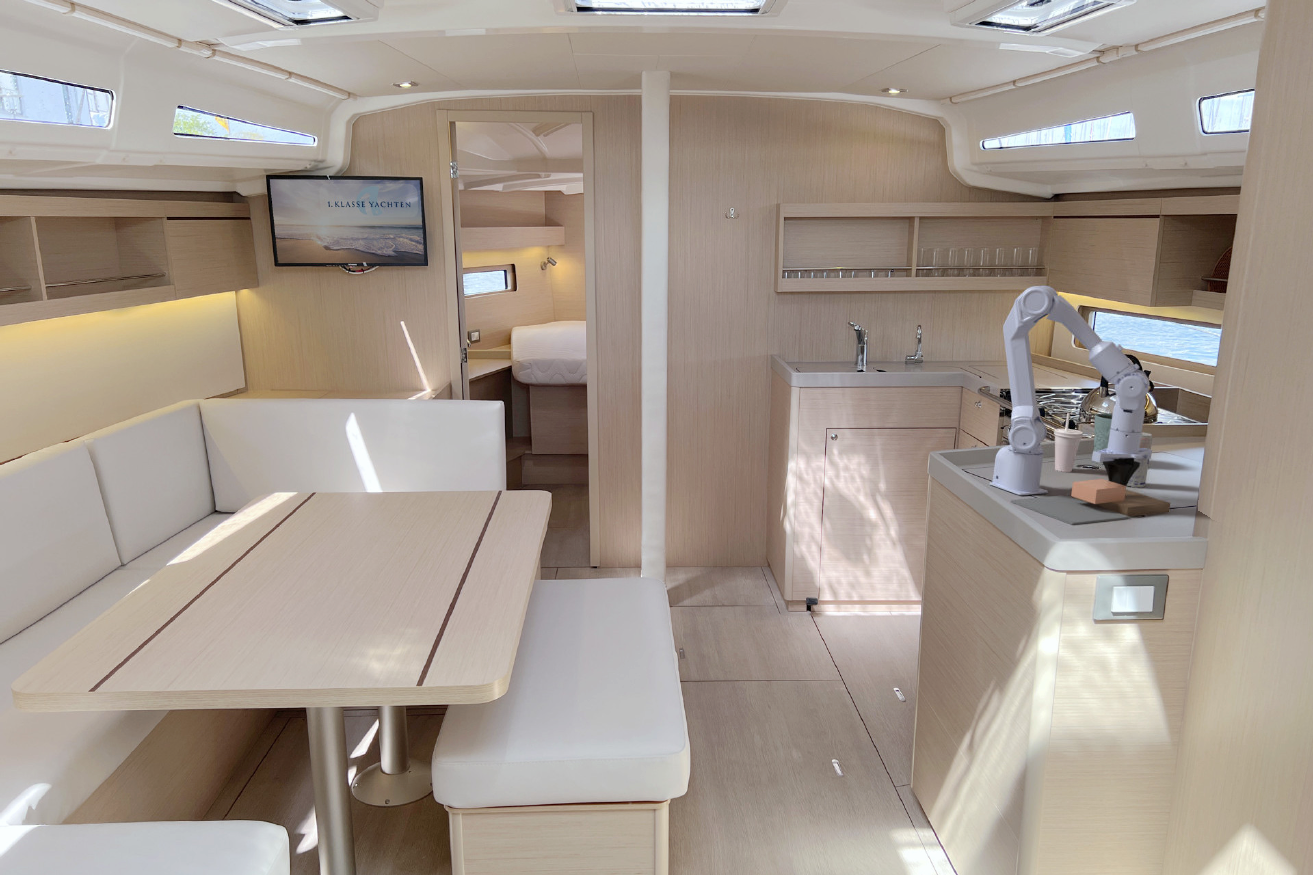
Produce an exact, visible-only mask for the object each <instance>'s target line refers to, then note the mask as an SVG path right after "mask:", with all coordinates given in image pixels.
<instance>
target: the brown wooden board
mask: <svg viewBox="0 0 1313 875" xmlns="http://www.w3.org/2000/svg"><path fill="white" fill-rule="evenodd" d="M1070 490H1071V491H1070V496H1069V497H1072V498H1075V499H1078V500H1081V501H1084V502H1087V503H1090V502H1088V501H1085V500H1082V499H1079V498H1076V497H1073V496H1071V494H1072V488H1071V489H1070ZM1090 504H1093V503H1090ZM1093 505H1096V506H1099V507H1102V508H1105V509H1108V510H1111V511H1114V512H1117V513H1120V514H1123V515H1126V516H1129V518H1130V517H1131V518H1132V517H1138V516H1148V515H1149V516H1151V515H1156V514H1167V513H1170V510H1171V509H1170V508H1171V502H1169V501H1165V500H1162V499H1159V498H1155V497H1153V496H1150V495H1145V494H1142V493H1139V492H1136V491H1134V490H1129V489H1126V492H1125V499H1124V501H1115V502H1107V503H1099V504H1093Z"/></svg>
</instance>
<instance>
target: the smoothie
mask: <svg viewBox="0 0 1313 875" xmlns="http://www.w3.org/2000/svg"><path fill="white" fill-rule="evenodd" d="M1070 415H1071V413H1069V412H1067V414H1066V420H1065V426H1064V427H1065V428H1056V429H1054V432H1053V435H1054V470H1055V471H1057V470H1058V471H1057V472H1061V471H1062V473H1071V471H1073V469H1074V464H1075V461H1076V458H1077V454H1078V451H1079V450H1078V449H1079V446H1080V443H1081V439H1082V438H1083V437H1084V432H1083V431H1081V430H1076V429H1070V428H1069V422H1070V417H1071V416H1070Z"/></svg>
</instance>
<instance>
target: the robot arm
mask: <svg viewBox="0 0 1313 875" xmlns="http://www.w3.org/2000/svg"><path fill="white" fill-rule="evenodd" d="M1046 316H1047V317H1046ZM1045 317H1046V318H1045ZM1043 318H1045V319H1046V320H1049V321H1051V322H1052V321H1053V322H1057V323H1059V324H1061V325H1063V326H1064V327H1065V328H1066V330H1068V332H1070V333H1071V335H1073V337H1074V338H1076V340H1077V341H1079V342H1080V343H1081V344H1082V345H1083V346H1084V347H1085V348H1086V350H1088V362H1090V363H1091V365H1092V366H1093V367H1094V368H1095V369H1096V370H1097V371H1098V372H1099V373H1100V374H1101V376H1102V377H1103V378H1104V379H1105V380H1106V381H1107V382H1108V383H1109V384H1111V385H1114V392H1115V395H1116V396H1115V397H1116V398H1115V404H1114V406H1113V411H1112V413H1113V415H1112V422H1111V428H1110V435H1109V442H1108V448H1106V449H1103V450H1100V451H1094V450H1093V451H1092V456H1091V461H1092V462H1094V461H1095V462H1099V463H1103V465H1102V466H1104V468H1105V471H1106V474H1107V477H1108V481H1111V482H1114V483H1117V484H1120V485H1124V486H1126V487H1128V486H1127V484H1128V482H1129V480H1130V478H1131V477H1132V475H1133V474H1134V472H1135V471H1136V470H1137V469H1138V468H1139V467H1140V463H1139V462H1136V461H1134V459H1143V458H1145V459H1149V460H1151V459H1152V453H1153V450H1152V449H1151V450H1150V449H1146V448H1139V446H1140V440H1141V433H1142V432H1143V426H1144V425H1143V424H1144V421H1145V420H1144V419H1145V415H1146V414H1145V413H1146V408H1145V406H1146V404H1147V401H1146V396H1147V394H1148V392H1149V389H1150V380H1149V378H1148V376H1147V374H1146V372H1144V371H1143V370H1142V369H1141V370H1140V366H1139V365H1138V364H1137V363H1135V364H1134V363H1133V362H1132V360H1130V359H1129V357H1128V356H1127V355H1125V353H1124V352H1123V350H1124V347H1123V346H1122V345H1121V344H1117V345H1116V343H1114V342H1113V341H1109V340H1108V341H1106V340H1103V339H1101V338H1100V336H1099V335H1098V334H1097V333H1096V332H1095V330H1094V329H1093V328H1092V327H1091V326H1090V324H1089V323H1088V322H1087V321H1086V320H1085V319H1084V317H1083V316H1082V315H1081V314H1080V313H1079V311H1078V310H1076V308H1075V307H1074V306H1073V305H1072V304H1071V303H1070V302H1069V301H1068V300H1067V299H1066V298H1064V297H1063V296H1062V295H1058V293H1057V291H1056V290H1055V289H1054V288H1053V287H1052V286H1049V285H1038V286H1037V285H1035V286H1031V287H1028V288H1027V289H1025V290H1024V291H1023V292H1022V293H1020V294H1019V296H1018V297H1017V298H1015V300H1014V303H1013V306H1012V308H1011V310H1010V312H1009V314H1008V315H1007V318H1006V319H1005V322H1004V323H1003V327H1002V332H1003V338H1004V339H1003V340H1004V341H1003V342H1004V349H1005V355H1006V356H1005V357H1006V365H1007V366H1006V367H1007V374H1008V381H1009V389H1010V390H1009V391H1010V396H1011V397H1010V398H1011V406H1012V411H1011V417H1010V422H1011V423H1010V424H1011V427H1010V430H1009V433H1008V442H1009V445H1005V446H1003V447H1001V448H1000V449H999V450H998V451H997V453H996V455H995V459H994V468H993V476H992V481H991V482H989V485H990V486H994V488H995V487H996V488H999V489H1001V490H1004V491H1007V492H1010V493H1013V494H1015V495H1018V496H1028V495H1029V496H1030V495H1038V494H1039V495H1040V494H1048V492H1049V491H1048V490H1047V489H1044V488H1041V487H1040V483H1041V482H1040V481H1041V476H1042V475H1041V474H1042V468H1043V461H1044V460H1043V459H1044V452H1045V451H1044V449H1043V447H1042V445H1041V443H1043V442H1044V441H1045V439H1046V438H1047V433H1048V432H1047V431H1048V430H1047V426H1046V424H1045V423H1044V421H1043V420H1042V418H1041V413H1040V409H1039V407H1038V404H1037V396H1036V395H1037V394H1036V387H1035V380H1034V371H1033V361H1032V353H1031V344H1030V337H1029V335H1030V334H1029V332H1030V331H1031V330H1032V329H1033V327H1035V326H1036V325H1037V324H1038V322H1039V321H1041V319H1043ZM1095 462H1094V463H1095Z"/></svg>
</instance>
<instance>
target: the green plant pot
mask: <svg viewBox="0 0 1313 875" xmlns="http://www.w3.org/2000/svg"><path fill="white" fill-rule="evenodd" d="M1112 415H1113V412H1112V413H1111V412H1110V413H1109V412H1107V413H1106V412H1104V413H1103V412H1101V413H1095V414H1094V437H1093V446H1094V447H1093V452H1094V451H1100V450H1103V449H1106V448H1108V442H1109V435H1110V428H1111V422H1112Z"/></svg>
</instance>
